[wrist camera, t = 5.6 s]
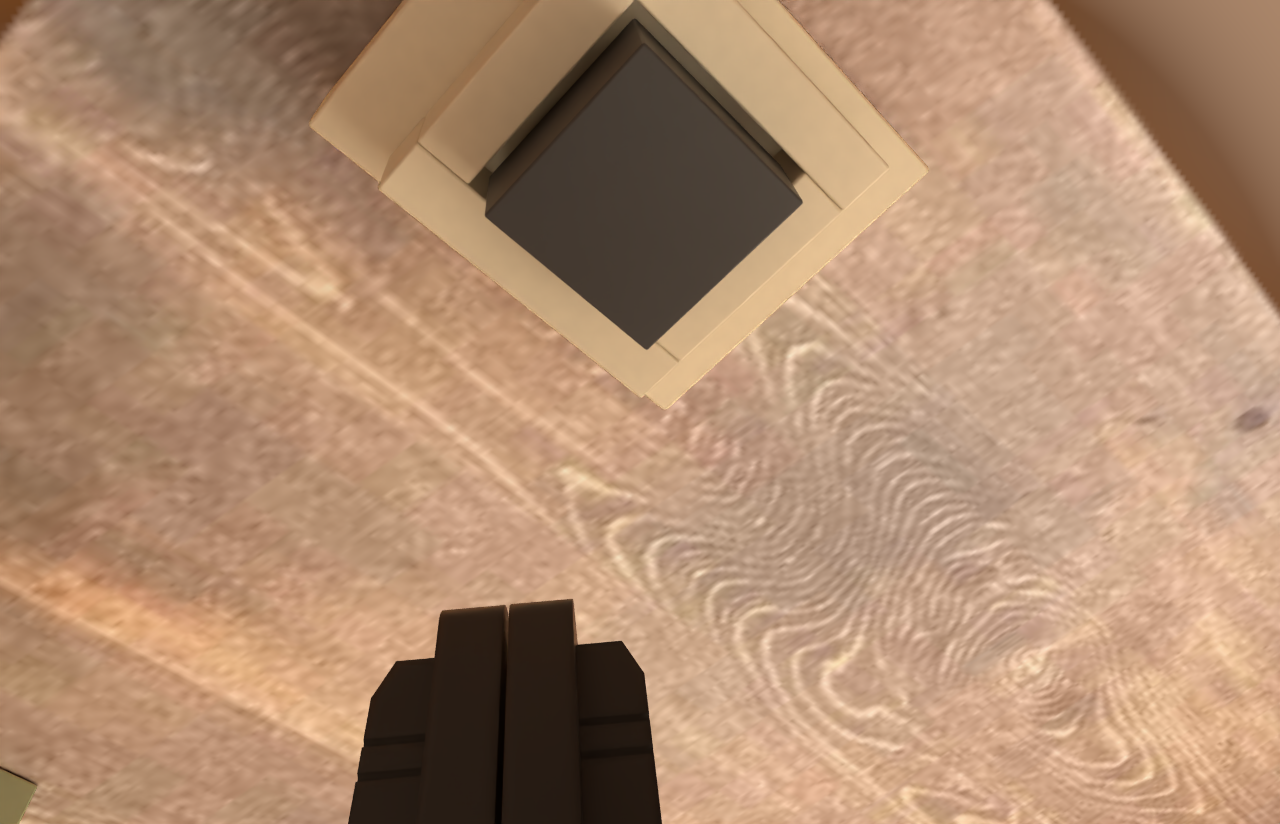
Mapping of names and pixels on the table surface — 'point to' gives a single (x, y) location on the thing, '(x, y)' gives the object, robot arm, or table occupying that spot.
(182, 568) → the table surface
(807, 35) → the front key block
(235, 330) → the table surface
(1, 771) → the key block
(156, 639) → the table surface
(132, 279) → the table surface
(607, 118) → the black key
